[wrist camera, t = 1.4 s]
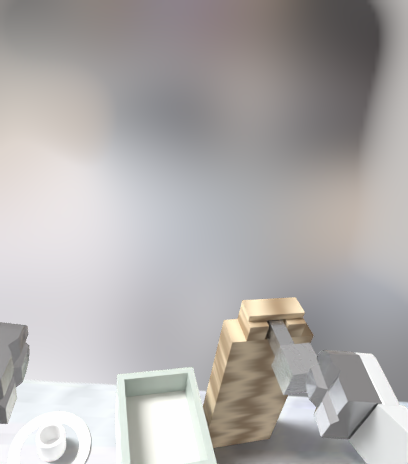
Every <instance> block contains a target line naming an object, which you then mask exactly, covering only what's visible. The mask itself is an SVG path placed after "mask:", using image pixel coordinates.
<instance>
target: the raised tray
mask: <svg viewBox="0 0 408 464" xmlns="http://www.w3.org/2000/svg"><path fill="white" fill-rule="evenodd" d="M115 428H116V450H117V464H217V462H216V458H215V454H214V450H213V446H212V442H211V438H210V434H209V430H208V426H207V422H206V418H205V414H204V410H203V406H202V402H201V398H200V394H199V390H198V386H197V382H196V378H195V374H194V370H193V367H187V368H179V369H178V368H177V369H168V370H158V371H148V372H139V373H129V374H119V375H117V391H116V414H115Z"/></svg>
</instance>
